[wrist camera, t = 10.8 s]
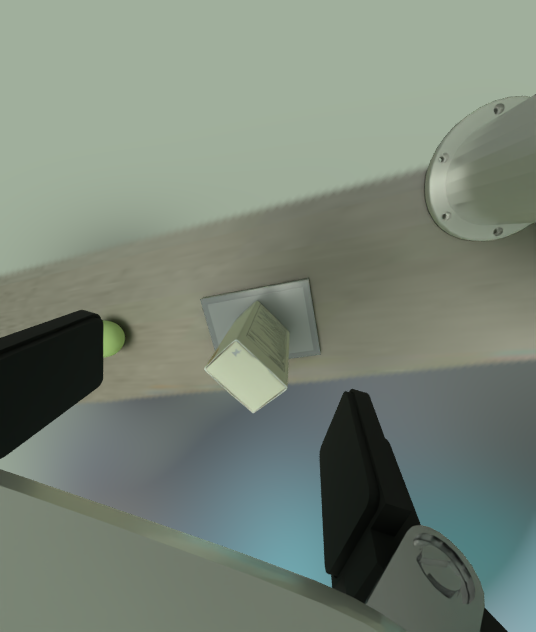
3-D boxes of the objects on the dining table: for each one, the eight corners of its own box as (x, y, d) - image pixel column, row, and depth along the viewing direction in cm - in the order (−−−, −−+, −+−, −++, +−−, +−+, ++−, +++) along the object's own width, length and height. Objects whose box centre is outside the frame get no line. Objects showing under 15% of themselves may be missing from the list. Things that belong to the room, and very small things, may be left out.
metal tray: (308, 278, 31) (308, 279, 30) (320, 351, 34) (320, 354, 33) (202, 297, 34) (199, 299, 33) (222, 364, 36) (219, 368, 35)
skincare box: (234, 320, 33) (198, 367, 21) (257, 298, 32) (233, 335, 20) (268, 354, 34) (252, 416, 22) (292, 334, 32) (288, 389, 21)
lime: (134, 322, 36) (109, 335, 31) (130, 352, 38) (106, 369, 33) (101, 311, 36) (71, 323, 31) (99, 341, 38) (70, 357, 33)
